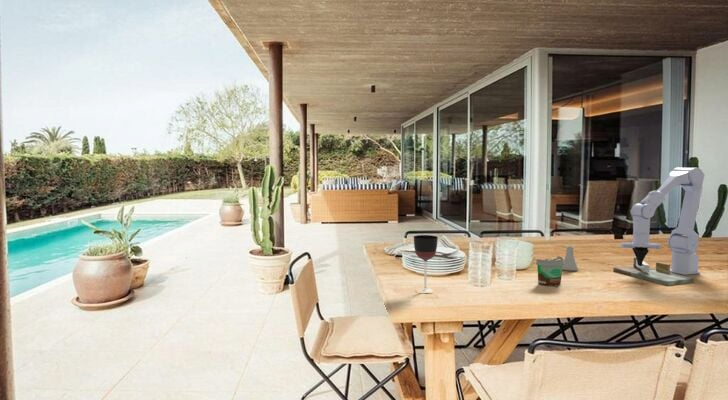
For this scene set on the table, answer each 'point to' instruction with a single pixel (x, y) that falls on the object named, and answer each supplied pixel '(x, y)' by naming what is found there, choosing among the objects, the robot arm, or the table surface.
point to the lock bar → (644, 267)
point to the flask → (570, 260)
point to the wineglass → (425, 251)
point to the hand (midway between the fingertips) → (639, 265)
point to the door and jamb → (656, 274)
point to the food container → (550, 271)
